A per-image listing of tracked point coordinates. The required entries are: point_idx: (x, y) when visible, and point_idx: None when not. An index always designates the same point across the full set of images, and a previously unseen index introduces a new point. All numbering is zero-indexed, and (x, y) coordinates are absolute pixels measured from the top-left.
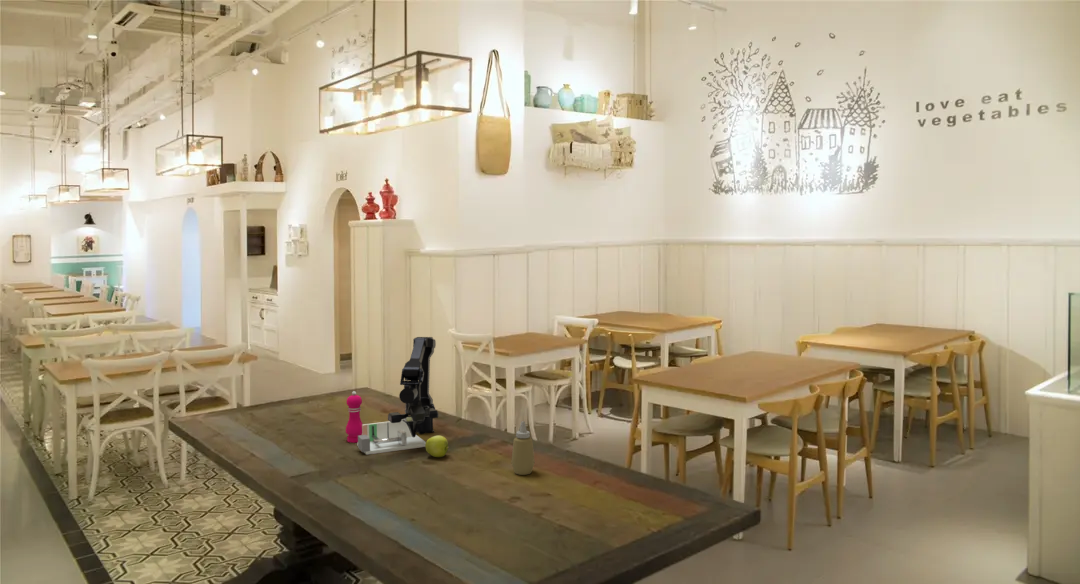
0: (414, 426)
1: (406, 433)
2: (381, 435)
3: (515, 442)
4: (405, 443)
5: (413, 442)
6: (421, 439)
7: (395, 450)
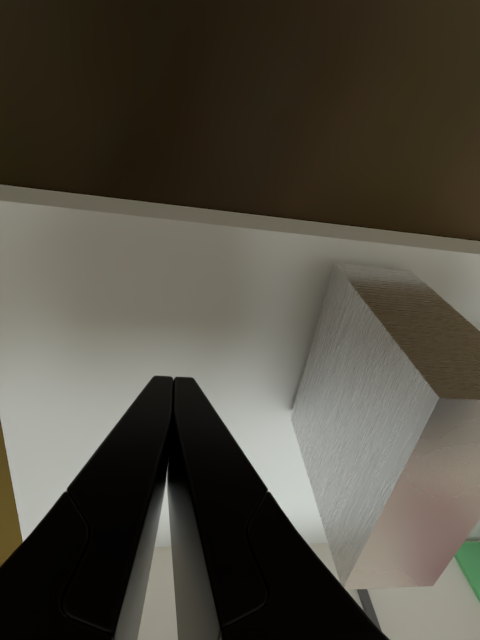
0: (133, 606)
1: (150, 588)
2: (427, 591)
3: None
4: (360, 276)
5: (167, 352)
6: (12, 420)
7: (478, 241)
